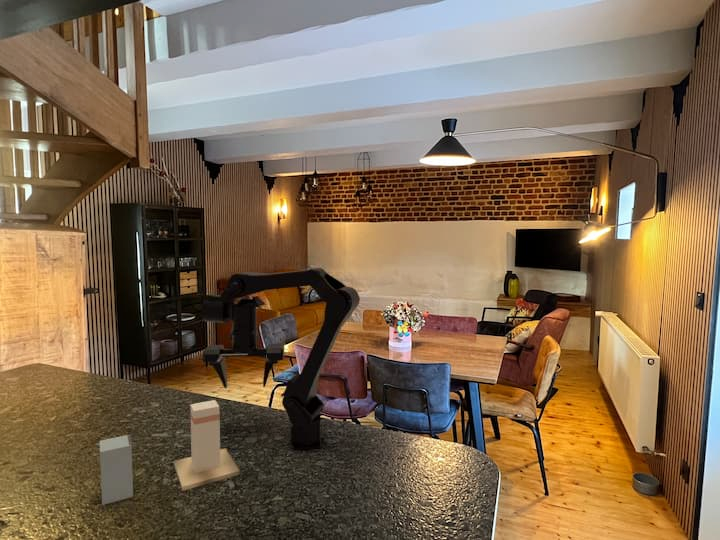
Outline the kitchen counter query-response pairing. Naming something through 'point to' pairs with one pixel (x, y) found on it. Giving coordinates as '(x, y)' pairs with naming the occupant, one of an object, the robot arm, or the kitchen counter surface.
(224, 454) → the coaster
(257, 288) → the robot arm
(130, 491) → the ticket block
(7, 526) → the kitchen counter surface
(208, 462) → the beige upright block
